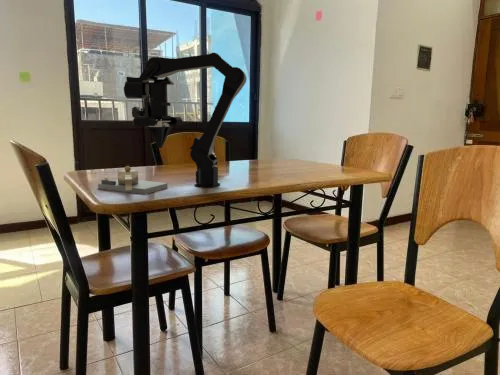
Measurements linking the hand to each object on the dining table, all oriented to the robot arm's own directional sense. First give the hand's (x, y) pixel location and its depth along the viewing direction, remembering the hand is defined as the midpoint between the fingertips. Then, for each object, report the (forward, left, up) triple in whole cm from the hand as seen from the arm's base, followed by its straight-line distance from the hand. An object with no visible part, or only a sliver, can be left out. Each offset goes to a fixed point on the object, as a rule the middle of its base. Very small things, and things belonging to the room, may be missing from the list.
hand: (159, 148), depth 125 cm
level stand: (+3, +10, -12) cm, 16 cm away
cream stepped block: (+1, +14, -10) cm, 17 cm away
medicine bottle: (-3, -25, -12) cm, 28 cm away
